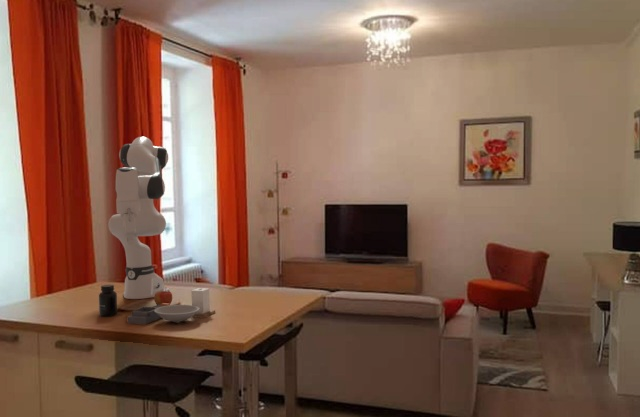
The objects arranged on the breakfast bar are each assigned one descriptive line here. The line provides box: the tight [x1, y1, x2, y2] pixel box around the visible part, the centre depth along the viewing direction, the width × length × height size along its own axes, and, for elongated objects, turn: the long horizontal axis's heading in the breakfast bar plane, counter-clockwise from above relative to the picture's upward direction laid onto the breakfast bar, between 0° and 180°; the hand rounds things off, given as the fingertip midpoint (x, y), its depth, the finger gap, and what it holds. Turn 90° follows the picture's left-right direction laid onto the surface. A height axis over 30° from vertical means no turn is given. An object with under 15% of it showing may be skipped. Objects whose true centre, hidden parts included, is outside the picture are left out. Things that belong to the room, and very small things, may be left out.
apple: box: [153, 287, 173, 306], centre depth 229 cm, size 7×7×8 cm
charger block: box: [191, 287, 211, 314], centre depth 216 cm, size 5×5×9 cm
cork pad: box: [191, 309, 216, 319], centre depth 216 cm, size 8×8×1 cm
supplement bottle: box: [98, 284, 118, 318], centre depth 219 cm, size 7×7×12 cm
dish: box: [154, 304, 200, 324], centre depth 205 cm, size 18×14×5 cm
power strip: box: [127, 303, 171, 325], centre depth 217 cm, size 26×8×4 cm, turn 162°
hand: (130, 243), depth 215 cm, fingers open, 8 cm apart
